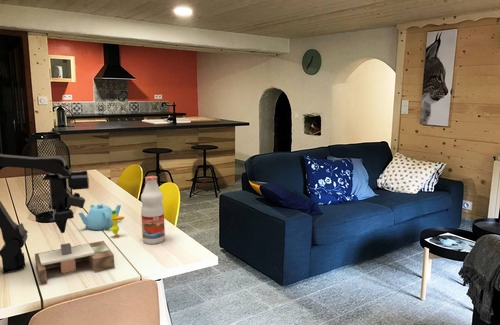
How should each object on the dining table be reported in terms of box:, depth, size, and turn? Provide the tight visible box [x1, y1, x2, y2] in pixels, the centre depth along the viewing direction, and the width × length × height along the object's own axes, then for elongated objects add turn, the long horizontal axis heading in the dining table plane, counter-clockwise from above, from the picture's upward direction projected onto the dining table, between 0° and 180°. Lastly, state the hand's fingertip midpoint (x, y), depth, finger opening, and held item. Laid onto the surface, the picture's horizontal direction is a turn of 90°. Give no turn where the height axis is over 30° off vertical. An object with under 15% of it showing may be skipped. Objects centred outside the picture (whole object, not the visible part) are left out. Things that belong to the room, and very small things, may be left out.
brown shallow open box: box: [34, 240, 116, 286], centre depth 142 cm, size 24×16×5 cm, turn 123°
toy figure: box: [109, 209, 125, 238], centre depth 171 cm, size 7×4×12 cm, turn 118°
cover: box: [38, 242, 94, 266], centre depth 140 cm, size 17×10×4 cm, turn 123°
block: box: [59, 259, 77, 274], centre depth 141 cm, size 4×4×4 cm
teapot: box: [78, 203, 122, 231], centre depth 184 cm, size 15×15×11 cm
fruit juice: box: [140, 175, 166, 245], centre depth 166 cm, size 9×9×28 cm
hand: (62, 231), depth 145 cm, fingers open, 3 cm apart
